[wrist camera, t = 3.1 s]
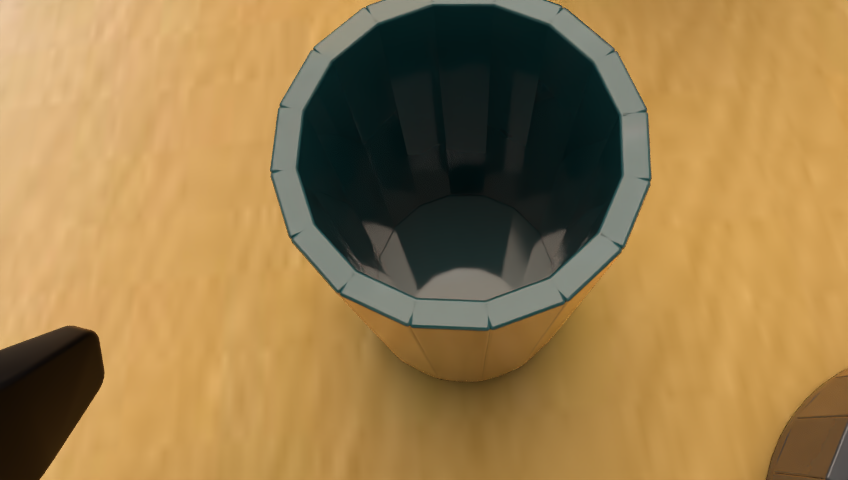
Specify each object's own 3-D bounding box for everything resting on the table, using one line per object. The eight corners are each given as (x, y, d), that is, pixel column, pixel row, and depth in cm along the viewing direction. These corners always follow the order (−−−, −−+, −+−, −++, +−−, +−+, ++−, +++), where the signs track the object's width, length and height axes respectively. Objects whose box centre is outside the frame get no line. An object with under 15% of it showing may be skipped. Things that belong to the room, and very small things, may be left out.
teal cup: (459, 426, 20) (445, 417, 10) (326, 276, 22) (199, 137, 12) (607, 285, 21) (733, 146, 11) (468, 151, 22) (466, -77, 12)
